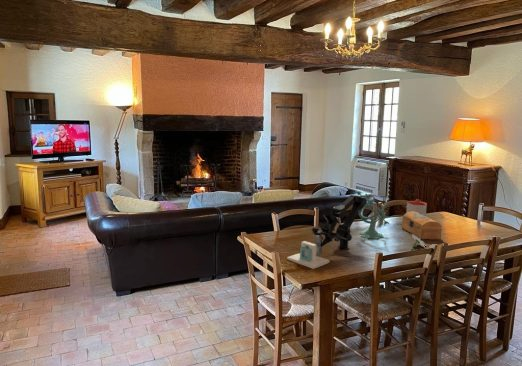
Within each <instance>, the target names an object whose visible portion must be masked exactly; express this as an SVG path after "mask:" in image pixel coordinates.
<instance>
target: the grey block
mask: <svg viewBox="0 0 522 366" xmlns="http://www.w3.org/2000/svg"><path fill="white" fill-rule="evenodd" d="M322 237H323V236H319V235H318V236H316V235H315V239H314V240H315V242H313V244H316V256H321V255H323V251H322V250H323V246H322V247H321V244H322V242H323V240H322ZM307 248H309V246H307Z"/></svg>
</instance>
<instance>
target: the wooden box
mask: <svg viewBox="0 0 522 366" xmlns="http://www.w3.org/2000/svg"><path fill="white" fill-rule="evenodd" d="M401 223H402V224H401V229H402V230H404V231H405V232H407V233H409V232H410V233H409V234H415V236H417V237H418V238H420V239H429V240H441V239H442V238H441V237H442V228H443V227H442V224H441V223H439V221H436V220H433V219H432V218H430V217H428V216H427V215H426V216H424V215H422V214H419V213H417V212H413V211H411V212H408V213H407V212H405V213H404V215H402V220H401Z"/></svg>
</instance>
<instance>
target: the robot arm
mask: <svg viewBox="0 0 522 366" xmlns="http://www.w3.org/2000/svg"><path fill="white" fill-rule="evenodd" d="M348 196H349V197H347V199H345V200H344V201H343V202H342V203H341V204H339V205H337V206H334V207H333V208H332V207H327V208H325V209H324V210H322V213H321V214H322V215H323V217H324V218H325V220H326V222H325V223H322V222H319V223H318V228H317V227H312V229H311V232H312V234H314V235H315V236H318V235H319V236H322V244H321V247H322V248H323V247H324V246H326V245H327V244H329V243H331V242H333V241H334V242H338V243H339V245H337V248H339V250H350V247H349V242H351V240H352V238H353V236H352V235H351V226H352V225H353V222H354V221H355V219H356V217H357V215H359V210H360V211H361V210H362V209H363V207H364V206H365V205H366V203H368V202H367V201H366V199H365V198H364V197H365V196H363V197H362V196H359V195H355V194H350V195H348ZM350 207H351V209H350ZM348 209H350V211H349V213H348V214H347V216H346V218H345V220H344V221H343V223H342V224H341V223H340V219H343V217H344V216H345V215H346V212H347V210H348ZM338 224H339V225H338ZM336 226H338V227H337V228H336ZM335 228H336V229H335ZM323 236H324V237H323Z"/></svg>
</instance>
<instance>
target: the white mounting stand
mask: <svg viewBox="0 0 522 366" xmlns="http://www.w3.org/2000/svg"><path fill="white" fill-rule="evenodd" d="M300 246H301V247H306V248H307V246H309V249H312V252H311V261H306V260H303V259H300V252H299V253H295V254H292V255H290V256H286V257H287V261H290V262H293V263H296V264H299V265H302V266H305V267H307V268H310V269H312V270H314V269H317V268H319V267H321V266H324V265H327V264H330V259H327V258H324V257H321V256H319V255H316V244H314V242H313V243H312V242H309V241H306V240H303V241H301V245H300ZM304 256H306V257H307V252H306V251H304Z"/></svg>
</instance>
